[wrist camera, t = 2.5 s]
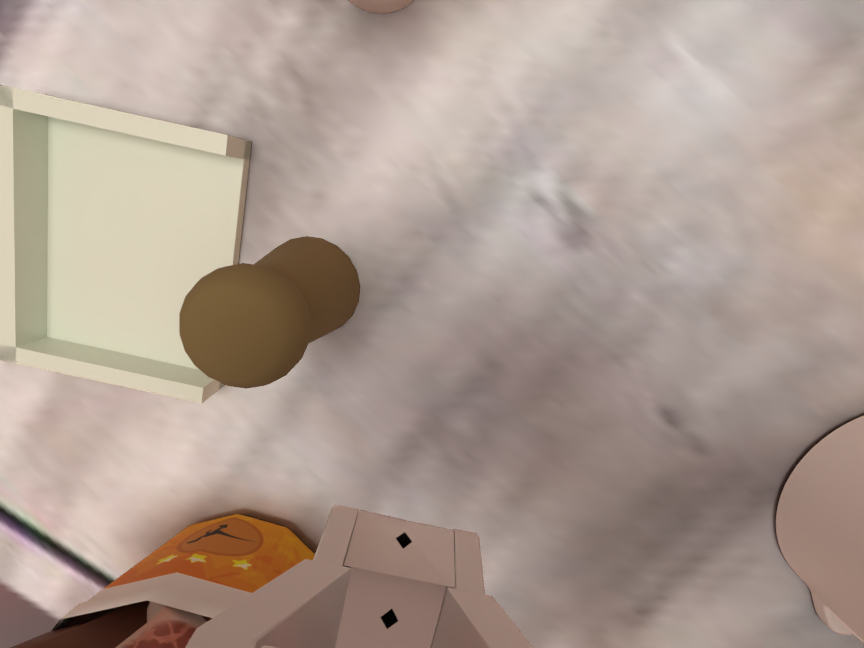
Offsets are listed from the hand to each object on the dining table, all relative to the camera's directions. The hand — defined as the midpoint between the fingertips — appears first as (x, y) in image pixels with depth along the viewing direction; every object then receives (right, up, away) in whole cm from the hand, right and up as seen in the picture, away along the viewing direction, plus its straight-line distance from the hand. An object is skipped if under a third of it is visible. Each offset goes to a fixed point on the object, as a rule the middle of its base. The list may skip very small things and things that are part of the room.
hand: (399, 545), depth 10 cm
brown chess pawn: (-7, +7, +20) cm, 22 cm away
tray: (-17, +9, +19) cm, 27 cm away
